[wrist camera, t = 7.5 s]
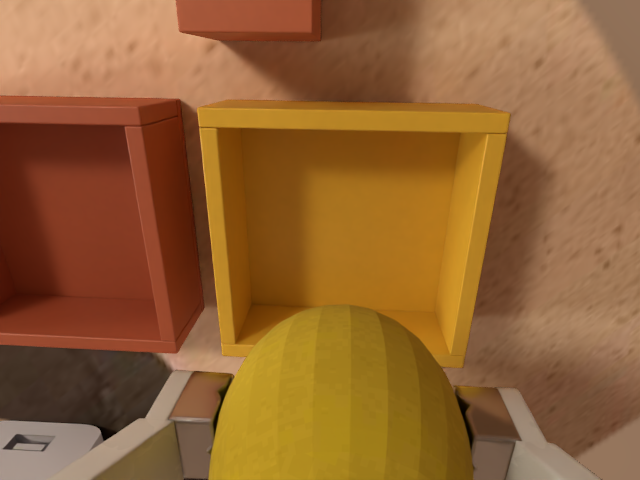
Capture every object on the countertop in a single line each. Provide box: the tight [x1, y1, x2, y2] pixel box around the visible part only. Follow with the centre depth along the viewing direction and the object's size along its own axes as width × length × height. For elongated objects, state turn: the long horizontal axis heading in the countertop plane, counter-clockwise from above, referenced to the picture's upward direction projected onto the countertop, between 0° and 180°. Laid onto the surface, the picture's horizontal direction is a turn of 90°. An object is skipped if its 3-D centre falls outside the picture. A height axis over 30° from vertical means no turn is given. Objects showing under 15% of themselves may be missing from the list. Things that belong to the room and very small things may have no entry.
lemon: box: [208, 304, 474, 480], centre depth 9 cm, size 6×6×8 cm
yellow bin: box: [197, 100, 511, 368], centre depth 21 cm, size 13×13×4 cm
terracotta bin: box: [0, 96, 204, 353], centre depth 21 cm, size 13×13×4 cm
